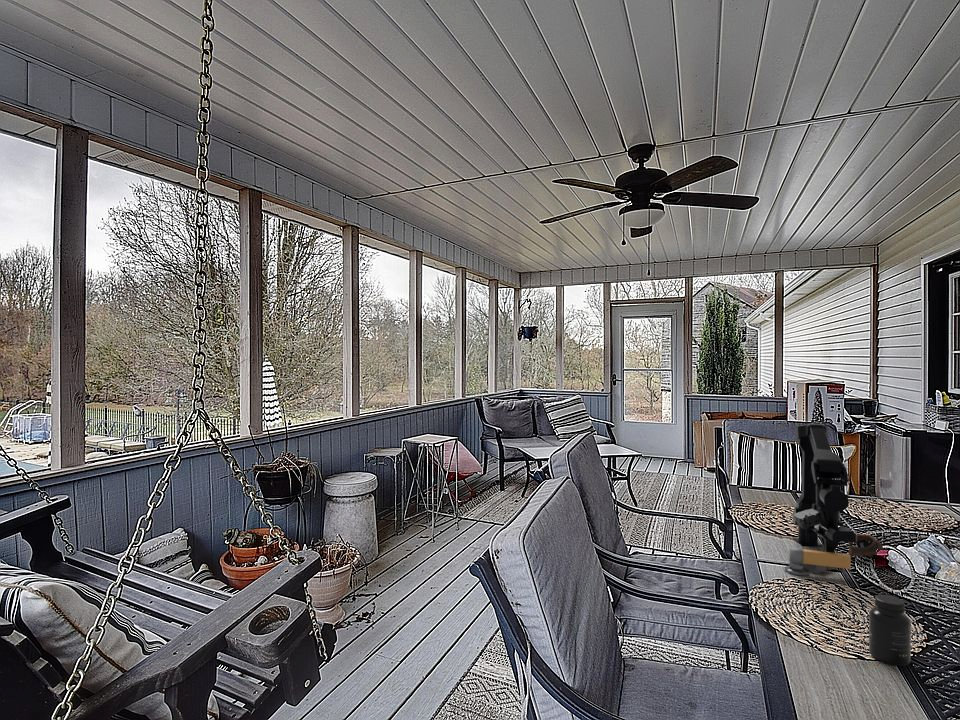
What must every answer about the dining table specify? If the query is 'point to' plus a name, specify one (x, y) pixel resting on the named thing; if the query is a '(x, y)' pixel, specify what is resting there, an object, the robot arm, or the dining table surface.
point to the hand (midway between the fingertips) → (828, 556)
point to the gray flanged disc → (796, 569)
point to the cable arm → (819, 558)
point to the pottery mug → (864, 546)
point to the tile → (815, 568)
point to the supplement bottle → (890, 631)
